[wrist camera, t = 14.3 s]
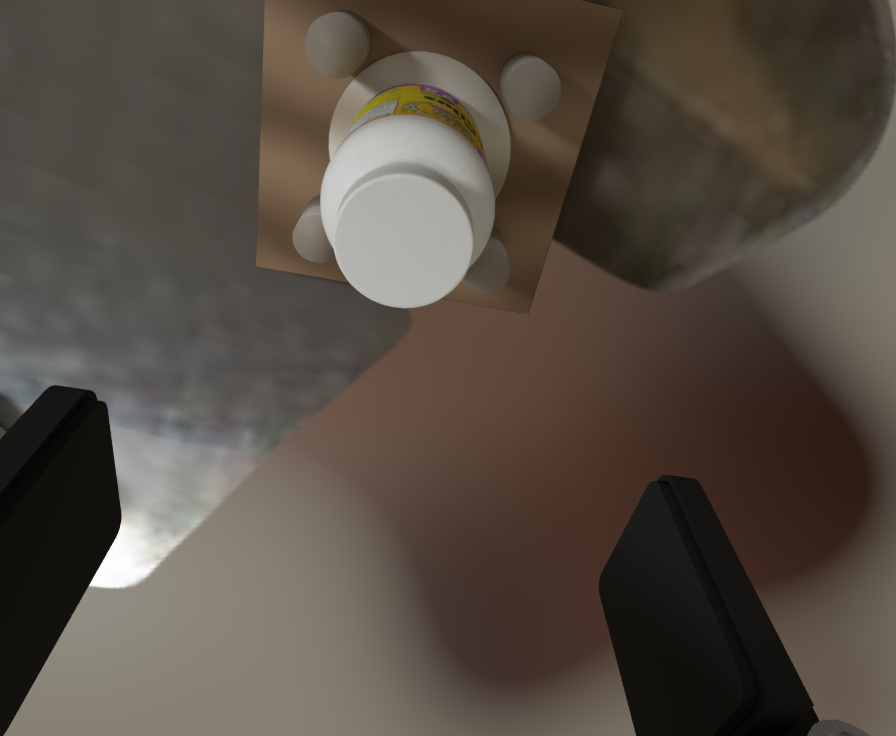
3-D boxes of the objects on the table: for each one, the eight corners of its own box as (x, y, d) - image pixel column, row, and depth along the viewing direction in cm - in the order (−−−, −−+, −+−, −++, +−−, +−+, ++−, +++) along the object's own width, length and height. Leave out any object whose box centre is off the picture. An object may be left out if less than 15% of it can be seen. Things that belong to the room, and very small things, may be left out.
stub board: (278, -75, 27) (245, -84, 23) (612, 8, 29) (645, 15, 25) (264, 252, 36) (239, 293, 31) (524, 299, 38) (536, 344, 33)
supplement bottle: (505, 172, 31) (540, 278, 20) (399, 237, 33) (380, 365, 22) (435, 48, 28) (435, 96, 17) (322, 128, 30) (258, 216, 19)
